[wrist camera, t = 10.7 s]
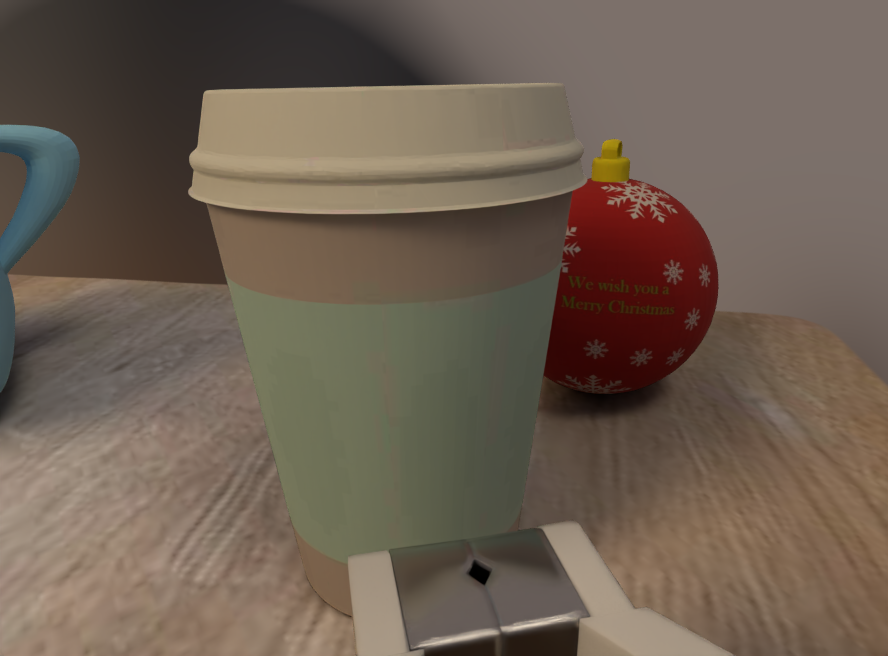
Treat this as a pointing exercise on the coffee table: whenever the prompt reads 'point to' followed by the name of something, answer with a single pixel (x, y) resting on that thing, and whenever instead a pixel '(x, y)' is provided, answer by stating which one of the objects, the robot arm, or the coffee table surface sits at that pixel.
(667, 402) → the coffee table surface
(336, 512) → the coffee cup
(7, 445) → the coffee table surface
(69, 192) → the teapot
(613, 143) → the christmas ornament
